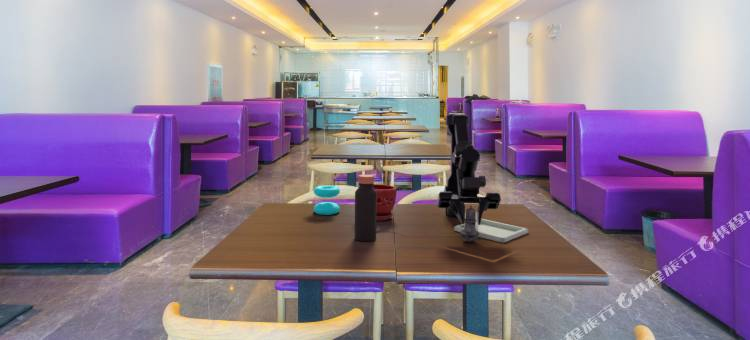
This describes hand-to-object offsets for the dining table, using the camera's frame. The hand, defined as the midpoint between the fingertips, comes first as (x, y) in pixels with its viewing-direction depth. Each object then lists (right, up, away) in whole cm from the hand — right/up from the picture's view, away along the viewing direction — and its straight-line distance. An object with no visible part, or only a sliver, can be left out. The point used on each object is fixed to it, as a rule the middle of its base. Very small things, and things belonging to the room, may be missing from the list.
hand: (471, 224), depth 137 cm
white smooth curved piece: (+3, -4, +14) cm, 15 cm away
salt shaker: (0, -6, +2) cm, 7 cm away
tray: (+9, -5, +14) cm, 17 cm away
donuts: (-48, 0, +39) cm, 62 cm away
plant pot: (-28, -2, +32) cm, 43 cm away
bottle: (-32, -5, +6) cm, 33 cm away
